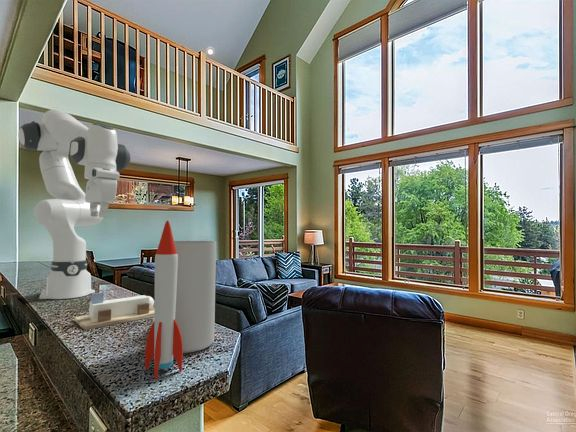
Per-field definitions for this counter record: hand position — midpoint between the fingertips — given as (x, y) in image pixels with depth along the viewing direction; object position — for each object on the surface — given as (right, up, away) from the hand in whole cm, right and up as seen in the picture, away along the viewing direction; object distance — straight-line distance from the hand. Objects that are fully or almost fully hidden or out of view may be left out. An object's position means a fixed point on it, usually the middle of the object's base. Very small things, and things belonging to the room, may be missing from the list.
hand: (98, 216), depth 103 cm
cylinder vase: (+37, -31, -25) cm, 55 cm away
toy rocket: (+37, -31, -39) cm, 62 cm away
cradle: (+9, -32, -3) cm, 33 cm away
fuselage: (+10, -31, -3) cm, 32 cm away
